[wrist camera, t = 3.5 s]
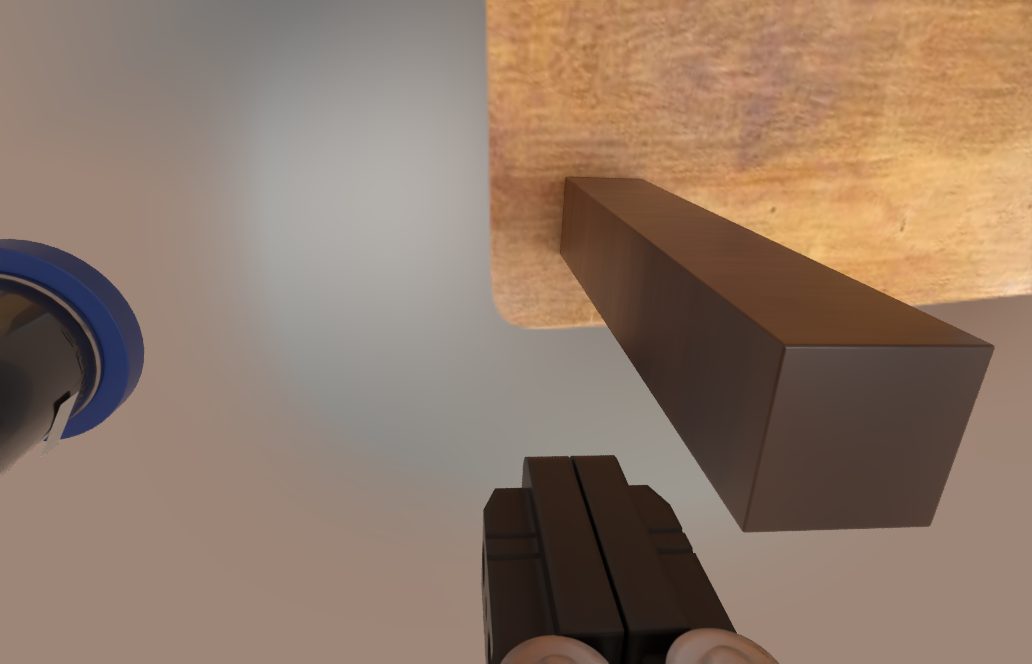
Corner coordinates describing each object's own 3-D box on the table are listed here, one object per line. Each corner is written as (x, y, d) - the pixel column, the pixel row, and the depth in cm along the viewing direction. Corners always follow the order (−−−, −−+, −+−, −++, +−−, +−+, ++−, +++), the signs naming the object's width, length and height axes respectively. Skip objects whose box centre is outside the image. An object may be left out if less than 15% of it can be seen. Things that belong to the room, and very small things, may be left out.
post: (559, 254, 35) (742, 534, 13) (565, 176, 34) (784, 345, 11) (633, 255, 36) (931, 527, 14) (642, 178, 34) (997, 345, 12)
